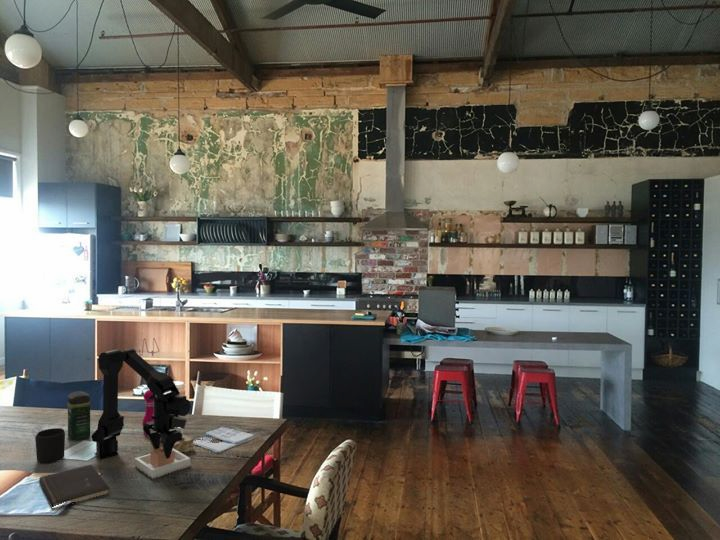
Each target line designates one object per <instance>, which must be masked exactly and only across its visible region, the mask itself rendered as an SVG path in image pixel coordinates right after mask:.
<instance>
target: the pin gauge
mask: <svg viewBox="0 0 720 540" xmlns="http://www.w3.org/2000/svg"><path fill="white" fill-rule="evenodd" d="M184 429H185V428H184ZM184 429H182V428H179V427H176V430H177V431H179V432H181V433H182V434H184V431H185V430H184ZM180 441H182V440H180Z"/></svg>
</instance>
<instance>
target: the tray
mask: <svg viewBox="0 0 720 540" xmlns="http://www.w3.org/2000/svg"><path fill="white" fill-rule="evenodd" d="M172 450H174V462H173V463H170V464H167V465H163V466H160V467H157V468H155V467H154V466H152V465H151V453H149V454H145V455H142V456H141V455H140V456H137V457H135V458H134V467H135V466H136V467H137V468H136V467H135V468H136V469H138V468H139V469H140V470H139V469H138V470H139V471H141V472H142V471H143V472H144V473H143V472H142V473H143V474H145V475H146V474H147V475H146V476H148V477H149V478H150V477H151V479H152V480H154V479H156V477H157V478H159V477H163V476H165V474H166V475H168V473H169V474H172V473H175V472H178V471H181V470H184V469H187V468H189V467H191V457H189V456H187V455H186V454H185V453H181V452H179V451H177V450H175V449H174V448H173V449H172ZM183 468H184V469H183ZM180 469H181V470H180ZM177 470H178V471H177ZM174 471H175V472H174ZM171 472H172V473H171ZM153 478H154V479H153Z"/></svg>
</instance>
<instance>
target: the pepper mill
mask: <svg viewBox="0 0 720 540" xmlns="http://www.w3.org/2000/svg"><path fill="white" fill-rule="evenodd" d="M152 394H153V393H152V392H151V391H150V390H149V389H148V390H146V391H145V392H144V394H143V400H144V403H145V404H144V406H145V407H146V408H145V414H144V417H143V419H142V424H141V425H142V426H143V425H144V424H145V423H147V422H151V421H154V419H153V418H152V415H154V400H151V399H149V397H150V396H151V395H152ZM144 434H145V435H144ZM143 435H144V436H147V435H146V432H144V431H143Z"/></svg>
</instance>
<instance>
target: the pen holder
mask: <svg viewBox="0 0 720 540" xmlns="http://www.w3.org/2000/svg"><path fill="white" fill-rule="evenodd" d="M34 438H35V439H34V440H35V452H36V462H37V463H38V464H41V465H45V464H47V465H48V464H54V463H57V462H59V460H60V461H62V460H63V459H64V457H65V449H66V444H65V443H66V431H65V429H63V428H59V427H58V428H57V427H54V428H47V429H44V430H43V429H42V430H40V431H39V432H37V433H36V435H35V437H34ZM62 458H63V459H62Z"/></svg>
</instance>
